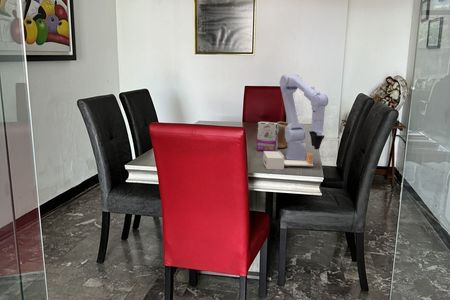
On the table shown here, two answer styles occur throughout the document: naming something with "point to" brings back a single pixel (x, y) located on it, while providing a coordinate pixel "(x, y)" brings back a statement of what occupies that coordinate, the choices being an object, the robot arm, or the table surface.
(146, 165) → the table surface
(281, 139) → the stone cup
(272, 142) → the candy bar box
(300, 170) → the table surface
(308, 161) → the cream slab with block
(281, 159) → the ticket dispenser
